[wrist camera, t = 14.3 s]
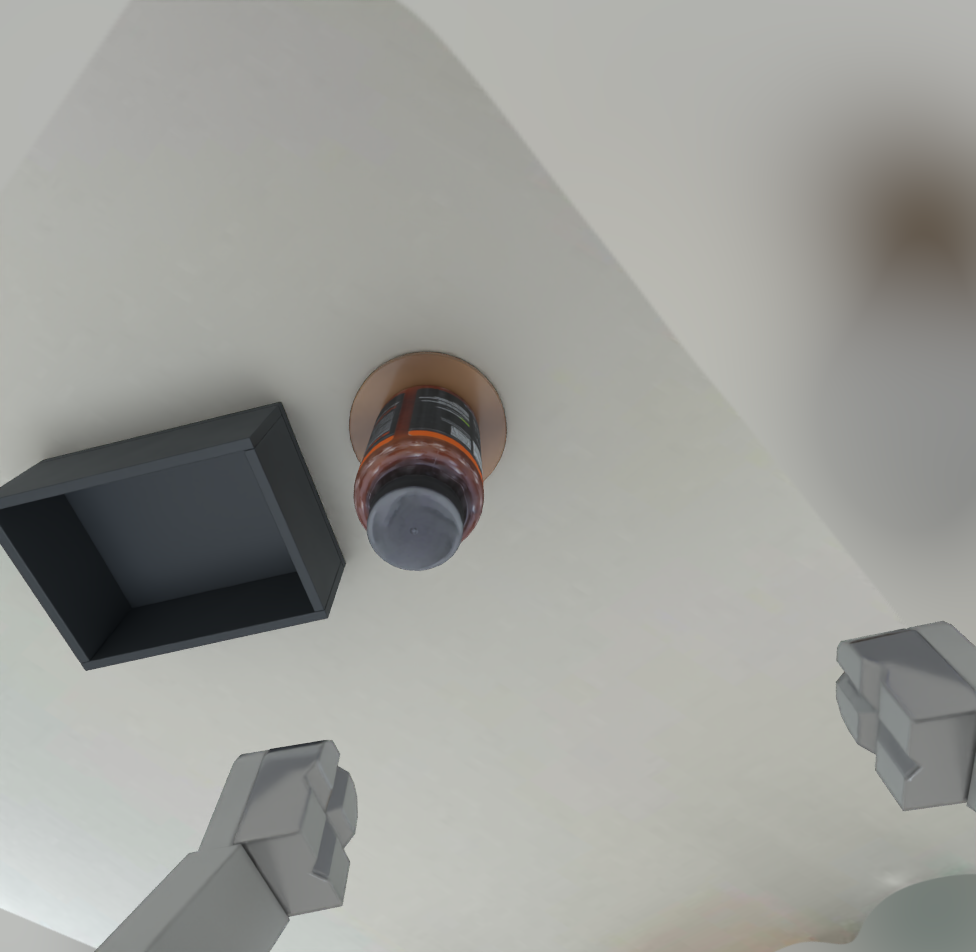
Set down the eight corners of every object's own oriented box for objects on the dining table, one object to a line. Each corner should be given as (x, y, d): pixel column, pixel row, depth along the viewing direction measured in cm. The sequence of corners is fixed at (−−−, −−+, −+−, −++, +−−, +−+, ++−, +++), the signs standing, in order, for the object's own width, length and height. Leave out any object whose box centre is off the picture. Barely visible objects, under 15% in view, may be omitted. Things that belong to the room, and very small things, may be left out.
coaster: (328, 373, 35) (326, 376, 34) (485, 334, 34) (486, 336, 33) (378, 511, 38) (377, 516, 38) (520, 478, 38) (521, 483, 37)
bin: (42, 459, 36) (-28, 504, 31) (281, 401, 35) (249, 437, 30) (132, 611, 41) (85, 671, 36) (346, 563, 40) (328, 618, 35)
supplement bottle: (370, 470, 36) (331, 580, 26) (383, 372, 34) (346, 452, 24) (470, 486, 37) (471, 601, 27) (489, 392, 35) (499, 478, 24)
